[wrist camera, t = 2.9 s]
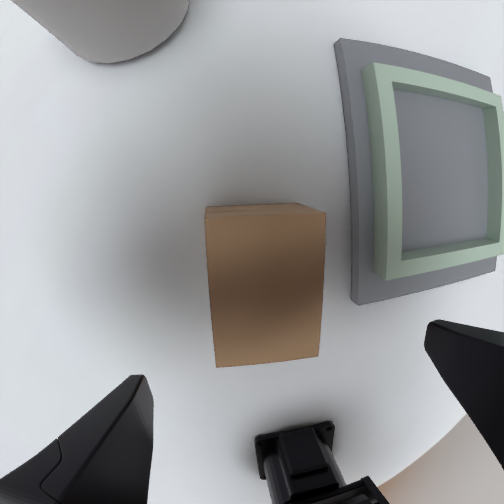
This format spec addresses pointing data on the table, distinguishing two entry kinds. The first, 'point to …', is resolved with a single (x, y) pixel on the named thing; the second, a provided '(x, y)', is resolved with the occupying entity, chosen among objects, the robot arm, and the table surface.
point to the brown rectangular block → (265, 281)
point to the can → (108, 25)
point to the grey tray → (419, 170)
